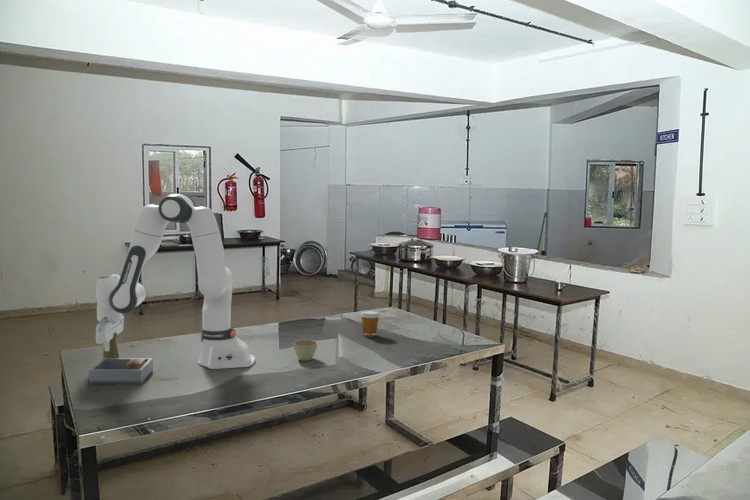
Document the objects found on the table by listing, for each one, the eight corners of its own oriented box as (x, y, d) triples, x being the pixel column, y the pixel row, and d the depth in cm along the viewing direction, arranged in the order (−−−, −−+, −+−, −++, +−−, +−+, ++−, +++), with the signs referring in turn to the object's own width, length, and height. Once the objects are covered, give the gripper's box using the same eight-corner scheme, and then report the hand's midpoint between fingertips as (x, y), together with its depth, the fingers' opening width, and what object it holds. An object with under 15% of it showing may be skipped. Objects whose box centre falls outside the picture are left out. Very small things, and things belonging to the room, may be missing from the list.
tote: (152, 370, 212) (152, 358, 212) (141, 383, 198) (141, 370, 198) (104, 370, 210) (103, 358, 210) (89, 383, 197) (88, 370, 196)
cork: (112, 361, 217) (111, 334, 216) (99, 360, 219) (98, 333, 217) (122, 357, 223) (121, 330, 222) (109, 356, 224) (108, 329, 223)
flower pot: (321, 357, 236) (321, 341, 235) (308, 364, 227) (309, 347, 226) (301, 354, 240) (301, 338, 239) (288, 360, 231) (288, 343, 230)
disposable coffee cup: (378, 338, 269) (379, 314, 268) (359, 337, 269) (360, 313, 268) (379, 333, 278) (379, 310, 277) (360, 332, 279) (361, 309, 277)
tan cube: (145, 372, 208) (144, 359, 207) (140, 376, 203) (140, 363, 202) (131, 372, 207) (131, 359, 206) (126, 376, 202) (126, 363, 202)
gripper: (107, 321, 209) (109, 356, 211) (126, 309, 229) (127, 341, 231) (90, 321, 208) (91, 356, 210) (110, 309, 229) (111, 341, 230)
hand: (110, 348), depth 220 cm, fingers closed on cork, 5 cm apart
